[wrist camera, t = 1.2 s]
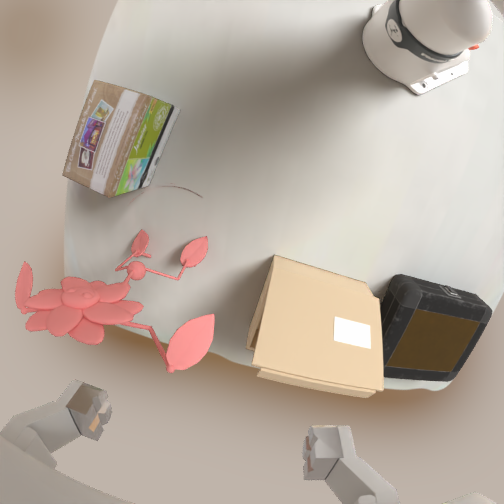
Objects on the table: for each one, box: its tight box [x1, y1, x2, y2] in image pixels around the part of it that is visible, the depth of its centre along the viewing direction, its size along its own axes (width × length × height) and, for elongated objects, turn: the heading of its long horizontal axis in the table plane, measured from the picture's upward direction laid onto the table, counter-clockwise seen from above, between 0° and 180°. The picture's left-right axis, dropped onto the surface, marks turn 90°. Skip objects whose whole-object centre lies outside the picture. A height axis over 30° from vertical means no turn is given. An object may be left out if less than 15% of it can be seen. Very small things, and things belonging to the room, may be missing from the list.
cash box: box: [380, 274, 492, 381], centre depth 50 cm, size 25×20×8 cm
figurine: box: [15, 183, 214, 373], centre depth 35 cm, size 15×26×35 cm, turn 81°
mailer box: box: [246, 255, 374, 351], centre depth 51 cm, size 18×16×7 cm
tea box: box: [63, 80, 180, 198], centre depth 40 cm, size 15×10×15 cm, turn 155°
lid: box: [251, 267, 384, 398], centre depth 40 cm, size 18×17×2 cm
